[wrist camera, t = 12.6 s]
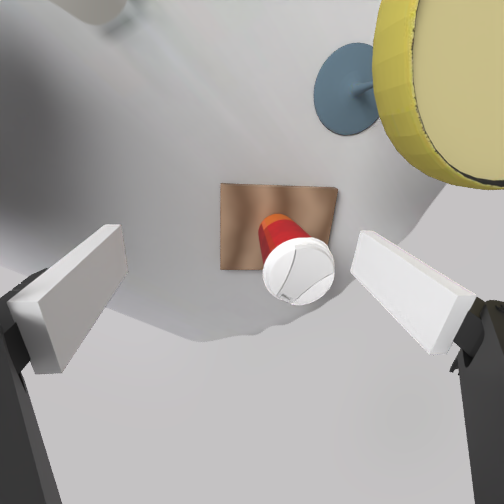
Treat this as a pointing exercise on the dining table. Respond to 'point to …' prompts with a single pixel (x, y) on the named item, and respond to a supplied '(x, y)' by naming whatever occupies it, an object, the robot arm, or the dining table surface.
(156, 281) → the dining table surface
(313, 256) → the coffee cup
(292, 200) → the walnut board
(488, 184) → the cocktail glass
